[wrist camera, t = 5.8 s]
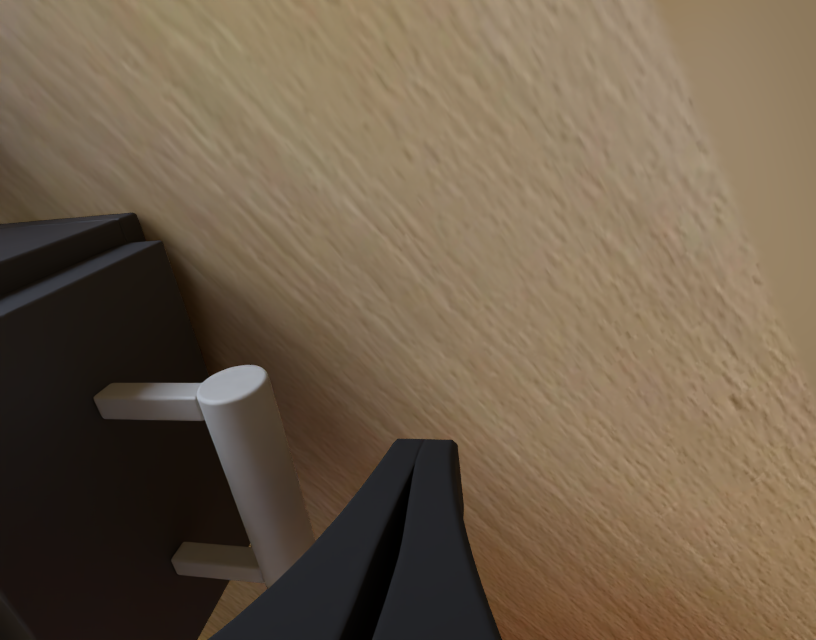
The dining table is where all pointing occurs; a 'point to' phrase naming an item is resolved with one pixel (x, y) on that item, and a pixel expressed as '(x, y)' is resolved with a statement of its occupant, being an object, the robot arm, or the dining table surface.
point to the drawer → (131, 460)
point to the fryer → (59, 245)
